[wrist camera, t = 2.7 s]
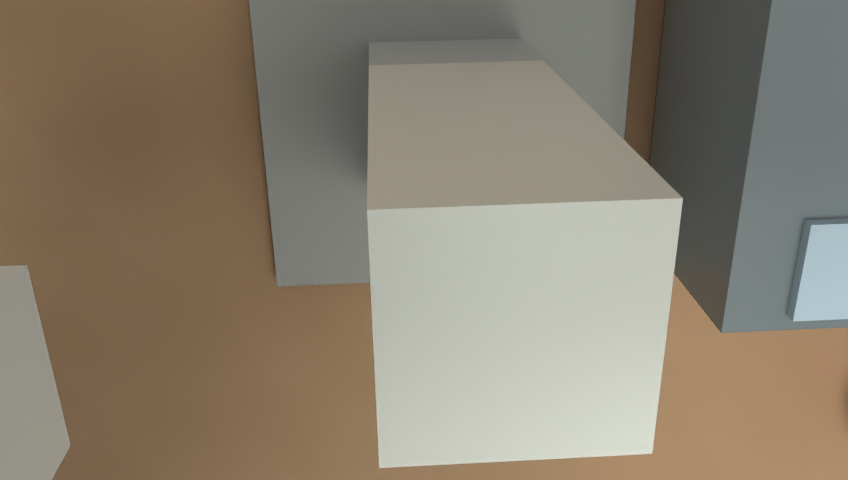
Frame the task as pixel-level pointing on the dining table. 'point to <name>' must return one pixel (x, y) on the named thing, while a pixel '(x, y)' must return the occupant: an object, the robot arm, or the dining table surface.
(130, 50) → the dining table surface
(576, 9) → the mat
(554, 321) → the plug
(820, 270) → the dock
